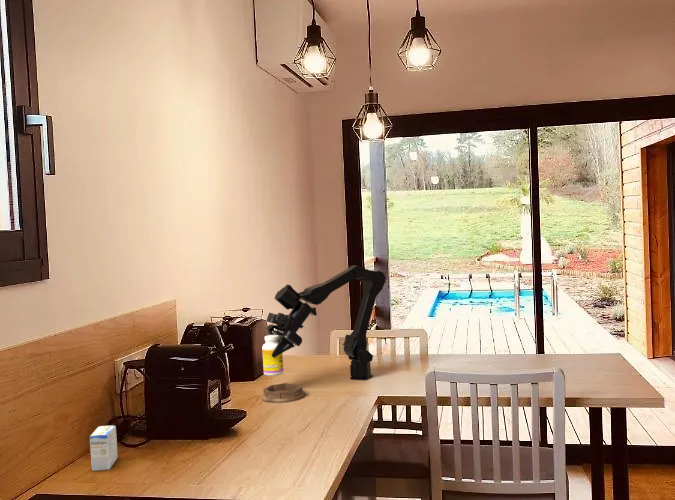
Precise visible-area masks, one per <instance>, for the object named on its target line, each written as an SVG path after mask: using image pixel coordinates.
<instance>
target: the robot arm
mask: <svg viewBox="0 0 675 500" xmlns="http://www.w3.org/2000/svg"><path fill="white" fill-rule="evenodd" d="M355 279H357V280H359V281H362V291H363V293H362V294H363V295H362V298H361V302H360V305H359V309H358V313H357V316H356V320H355V323H354V326H353V330H352V332H351V333H350V334H346V335H345V336H344V337H345V338H344V342H343V344H342V346H343V352H344V353H345V355H346V356H347V357H348V360H350V365H349V374H350V377H349V379H350V380H361V381H362V380H363V381H364V380H369V379H370V378H371V377H373V376H374V374H372V369H371V368H372V367H371V363H372V362H373V360H374V359H373V358H374V355H373V354H372V353H371V352H370V351H369V350H368V348H367V347H368V339H367V332H368V329H369V326H370V321H371V317H372V315H373V310H374V307H375V303H376V299H377V296H378V295H379V294H380V292H382V290H383V288H384V286H385V284H386V281H387V277H386V274H385V273H384V272H383V271H380V270H373V269H368V268H364V267H361V266H360V265H351V266H349V267H348V268H346V269H344V270H343V271H341V272H339V273H338V274H336V275H334V276H333V277H330V278H328V280H325V281H324V282H321V283H318V284H312V285H310V286H308V287H306V288H305V289H304V290H303V291H301V292H298V291H296V290H295V289H294V288H293V287H292V285H290V284H286V285H285V286H284V287H282V288H281V289H280V290H277V292H276V294H275V296H274V300H275V301H277V303H279V304H280V305H282V307H283V308H284V309H286V310H291V311H290V312H289V313H288V314H284V313H282V312H278V313H277V314H276V313H273V312H269V313H268V315H267V317H266V321H265V322H266V323H271V324H268V325H267V326H266V328H265V330H266V331H267V334H268V335H278V337H279V339H278V345H277V346H276V348H275V350H274V351H273V353H272V357H276V356H278V355H279V354H281V353H282V354H284V353H285V352H286V351H288V350H290V349H292V348H295V347H300V345H301V344H302V343H303V337H302V336H301V335H299V334H298V333H297V332H298V331H299V330H300V329H303V328H304V325H303V324H304V323H305V321H306V320H307V319H308V318H309V316H310V315H311V316H316V317H317V315H318V313H317V307H315V306H311V305H316V306H318V305H320V304H322V303H323V302H325V300H327V298H329V296H330V295H331V294H332V293H333V292H335V291H336V290H338V289H340V288H342V287H343V286H345V285H347V284H348V283H350V282H352V281H353V280H355ZM309 304H310V305H309Z"/></svg>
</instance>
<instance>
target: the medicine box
mask: <svg viewBox="0 0 675 500" xmlns="http://www.w3.org/2000/svg"><path fill="white" fill-rule="evenodd" d="M89 449H90V462H91V471H94V472H95V471H97V472H98V471H108V470H110V469H112V467H113V466H114V464H115V462H116V461H117V459H118V440H117V427H116V425H100V426H97V428H96V429H95V430H94V431H93V432H92V433H91V434H90V436H89Z"/></svg>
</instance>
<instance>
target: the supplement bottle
mask: <svg viewBox="0 0 675 500" xmlns="http://www.w3.org/2000/svg"><path fill="white" fill-rule="evenodd" d="M278 339H279V337H278V335H269V334H268V335H265V336H264V341H265V343H263V345H262V347H261V349H262V367H263V368H262V369H263V375H264V376H267V377H275V376H276V377H277V376H281V375H282V374H284V358H283V353H281V354H279V355H278V356H276V357H272V353H273V351H274V350H275V348H276V346H277V345H278Z"/></svg>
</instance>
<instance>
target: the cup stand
mask: <svg viewBox="0 0 675 500" xmlns="http://www.w3.org/2000/svg"><path fill="white" fill-rule="evenodd" d="M303 389H304V388H303V386H302V385H300V384H299V383H290V382H289V383H287V382H286V383H277V384H271V385H268V386H267V387H265V388H263V389H262V390H263V393H262V395H261V400H262V401H264V402H266V403H269V404H270V403H273V404H284V403H290V402H296V401H298V400H301V399H304V398H305V391H304V390H303Z"/></svg>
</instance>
